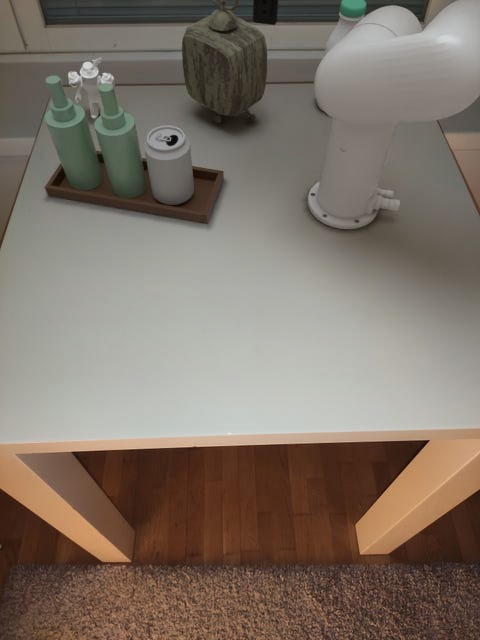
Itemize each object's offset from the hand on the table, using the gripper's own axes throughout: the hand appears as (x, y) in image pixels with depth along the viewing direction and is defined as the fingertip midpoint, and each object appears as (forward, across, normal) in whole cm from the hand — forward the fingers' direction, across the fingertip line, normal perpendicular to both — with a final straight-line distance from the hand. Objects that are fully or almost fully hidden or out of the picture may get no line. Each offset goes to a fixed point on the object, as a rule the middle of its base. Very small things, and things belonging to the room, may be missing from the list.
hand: (271, 6), depth 67 cm
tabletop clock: (+28, +14, +11) cm, 34 cm away
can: (+28, -11, +14) cm, 33 cm away
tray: (+28, -11, +21) cm, 37 cm away
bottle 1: (+28, -11, +31) cm, 43 cm away
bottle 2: (+28, -11, +22) cm, 37 cm away
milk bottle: (+28, +24, -11) cm, 39 cm away
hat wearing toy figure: (+28, +8, +36) cm, 47 cm away
